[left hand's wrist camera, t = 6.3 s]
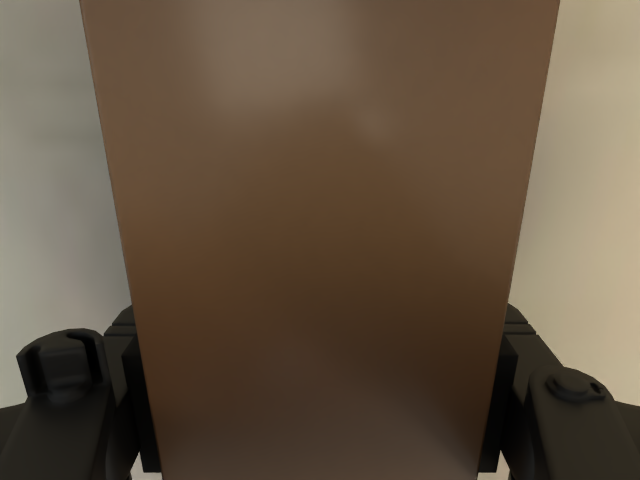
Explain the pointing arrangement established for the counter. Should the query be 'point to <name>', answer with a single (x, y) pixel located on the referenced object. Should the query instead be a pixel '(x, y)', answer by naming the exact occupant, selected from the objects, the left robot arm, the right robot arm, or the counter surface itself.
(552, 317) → the counter surface
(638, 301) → the counter surface
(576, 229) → the counter surface
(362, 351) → the bar
